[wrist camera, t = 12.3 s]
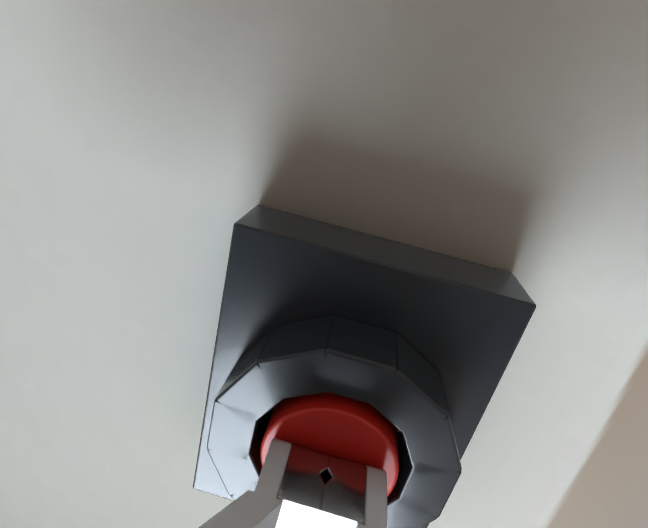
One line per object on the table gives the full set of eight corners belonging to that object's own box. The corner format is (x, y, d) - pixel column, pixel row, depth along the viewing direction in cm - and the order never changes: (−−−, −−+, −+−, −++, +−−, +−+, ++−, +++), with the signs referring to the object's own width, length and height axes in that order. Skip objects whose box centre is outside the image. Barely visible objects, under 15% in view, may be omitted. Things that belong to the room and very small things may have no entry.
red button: (288, 352, 12) (273, 392, 10) (413, 387, 11) (418, 434, 10) (266, 445, 13) (249, 494, 11) (377, 478, 13) (376, 532, 11)
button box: (257, 203, 13) (205, 244, 9) (513, 272, 12) (567, 344, 9) (215, 442, 16) (166, 539, 13) (410, 499, 16) (417, 616, 12)
